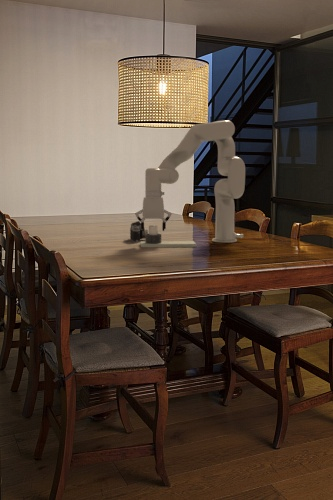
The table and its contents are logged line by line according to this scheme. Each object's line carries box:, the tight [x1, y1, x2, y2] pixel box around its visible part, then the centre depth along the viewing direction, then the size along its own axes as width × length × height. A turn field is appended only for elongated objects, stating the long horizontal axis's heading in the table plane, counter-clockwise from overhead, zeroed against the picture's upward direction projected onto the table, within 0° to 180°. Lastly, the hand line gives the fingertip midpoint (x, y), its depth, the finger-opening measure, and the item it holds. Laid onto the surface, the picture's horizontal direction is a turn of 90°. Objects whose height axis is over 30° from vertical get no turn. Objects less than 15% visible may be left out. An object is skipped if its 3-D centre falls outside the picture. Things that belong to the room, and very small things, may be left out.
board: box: [140, 240, 197, 248], centre depth 273 cm, size 26×10×2 cm, turn 94°
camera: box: [129, 220, 149, 244], centre depth 291 cm, size 16×8×10 cm, turn 10°
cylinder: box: [148, 224, 159, 235], centre depth 272 cm, size 4×4×7 cm
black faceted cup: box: [144, 233, 162, 244], centre depth 272 cm, size 8×8×4 cm
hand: (153, 230), depth 272 cm, fingers open, 9 cm apart
